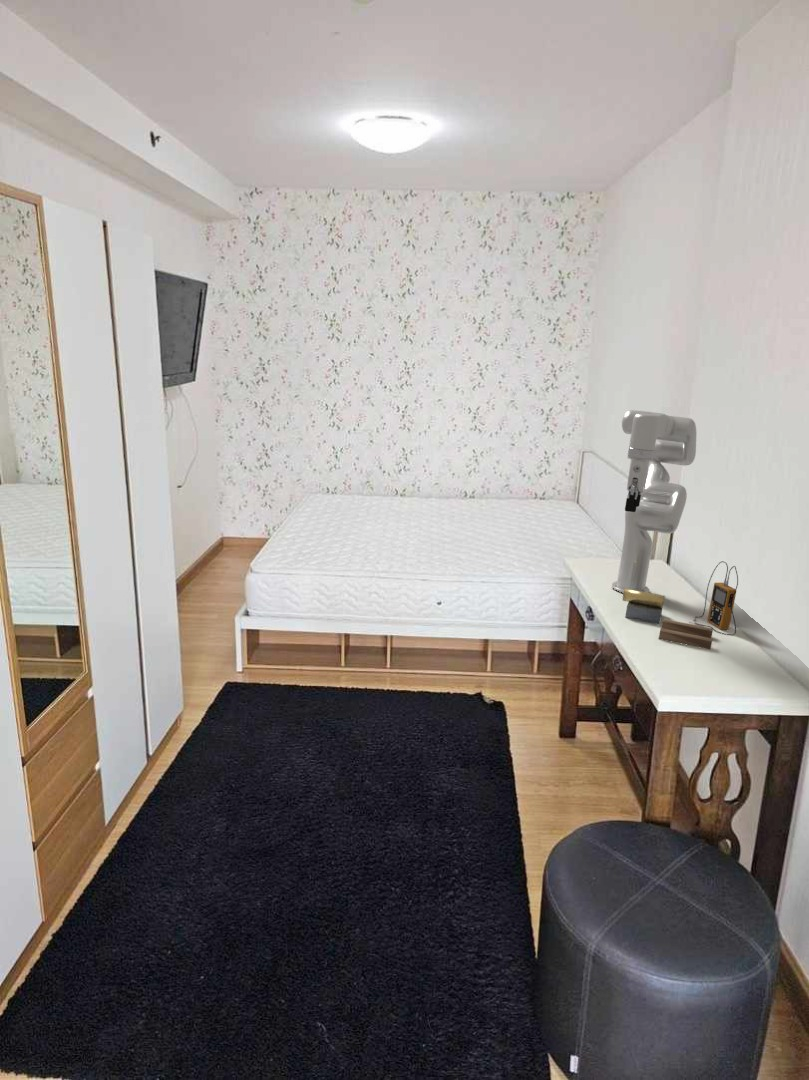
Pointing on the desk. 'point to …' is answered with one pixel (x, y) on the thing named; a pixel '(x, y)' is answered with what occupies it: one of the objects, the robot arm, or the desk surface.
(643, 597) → the axle
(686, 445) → the robot arm
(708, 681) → the desk surface
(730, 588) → the multimeter
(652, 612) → the v block
